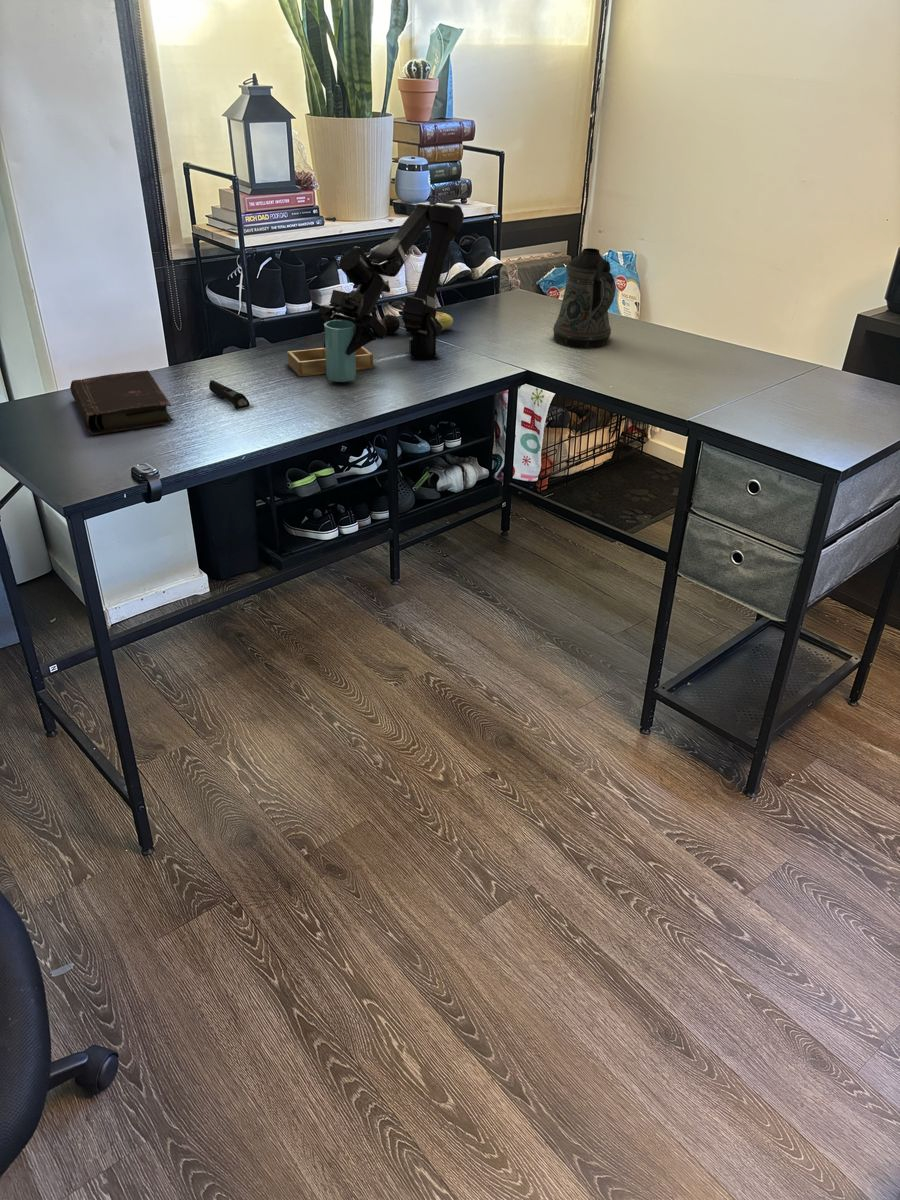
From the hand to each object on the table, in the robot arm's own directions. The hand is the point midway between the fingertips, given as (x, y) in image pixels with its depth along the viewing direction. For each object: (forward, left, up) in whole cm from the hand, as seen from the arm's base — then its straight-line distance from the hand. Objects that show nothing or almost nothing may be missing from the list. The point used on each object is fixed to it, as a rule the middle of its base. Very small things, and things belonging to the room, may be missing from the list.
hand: (335, 351), depth 215 cm
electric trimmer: (+26, +8, -8) cm, 29 cm away
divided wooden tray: (0, -14, -8) cm, 17 cm away
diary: (+49, +12, -8) cm, 52 cm away
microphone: (-14, -42, -8) cm, 45 cm away
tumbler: (-1, -1, -7) cm, 7 cm away
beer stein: (-75, -27, -8) cm, 80 cm away
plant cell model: (-31, -44, -5) cm, 55 cm away
